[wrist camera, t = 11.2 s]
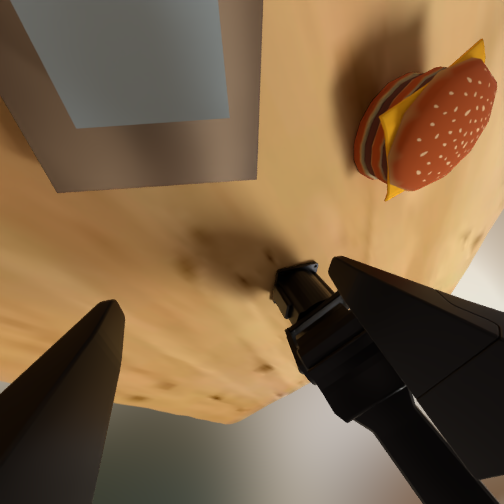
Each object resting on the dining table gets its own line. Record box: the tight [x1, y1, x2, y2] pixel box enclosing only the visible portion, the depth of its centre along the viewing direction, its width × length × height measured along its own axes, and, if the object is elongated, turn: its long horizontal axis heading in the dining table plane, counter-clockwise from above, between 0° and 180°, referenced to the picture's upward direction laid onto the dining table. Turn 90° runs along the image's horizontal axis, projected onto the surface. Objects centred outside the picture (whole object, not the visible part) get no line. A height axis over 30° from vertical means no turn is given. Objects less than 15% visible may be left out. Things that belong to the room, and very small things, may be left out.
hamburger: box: [354, 39, 497, 201], centre depth 17 cm, size 9×10×7 cm
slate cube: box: [10, 0, 230, 129], centre depth 7 cm, size 5×5×5 cm
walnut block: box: [0, 0, 263, 193], centre depth 10 cm, size 12×12×4 cm
